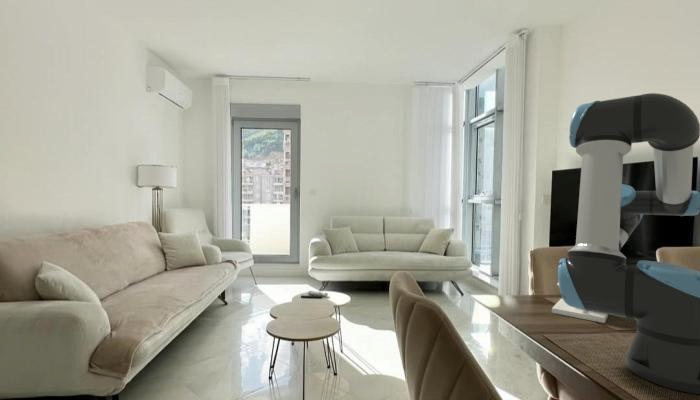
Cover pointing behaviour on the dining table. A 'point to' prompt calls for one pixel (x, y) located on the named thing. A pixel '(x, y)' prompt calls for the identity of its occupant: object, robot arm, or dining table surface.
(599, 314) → the trivet
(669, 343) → the robot arm
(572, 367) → the dining table surface
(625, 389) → the dining table surface
